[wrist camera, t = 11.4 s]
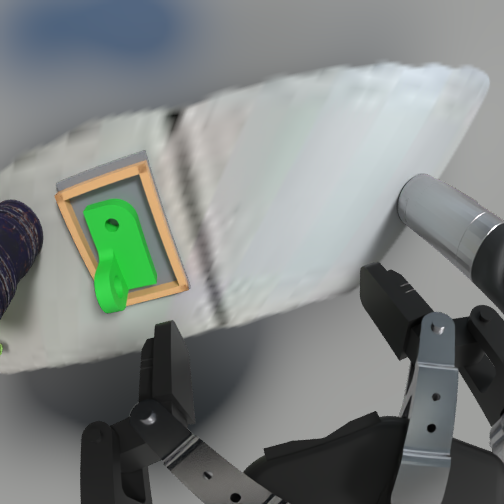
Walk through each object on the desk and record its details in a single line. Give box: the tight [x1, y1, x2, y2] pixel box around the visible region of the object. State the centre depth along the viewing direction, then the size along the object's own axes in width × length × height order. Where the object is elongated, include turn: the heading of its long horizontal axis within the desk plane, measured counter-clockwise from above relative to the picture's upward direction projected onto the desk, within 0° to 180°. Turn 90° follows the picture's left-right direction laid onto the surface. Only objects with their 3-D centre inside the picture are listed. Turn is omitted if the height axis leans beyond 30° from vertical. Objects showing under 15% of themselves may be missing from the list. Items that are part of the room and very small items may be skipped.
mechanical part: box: [83, 199, 157, 313], centre depth 34 cm, size 12×6×8 cm, turn 7°
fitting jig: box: [55, 150, 191, 306], centre depth 37 cm, size 12×20×2 cm, turn 10°
